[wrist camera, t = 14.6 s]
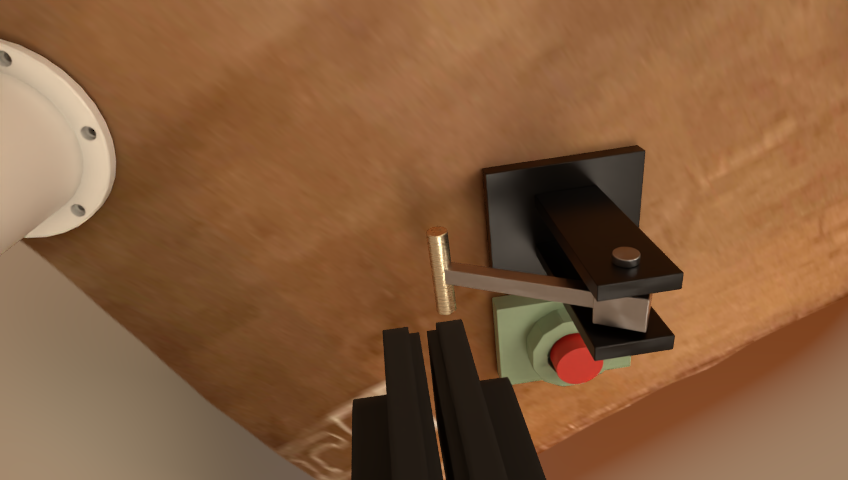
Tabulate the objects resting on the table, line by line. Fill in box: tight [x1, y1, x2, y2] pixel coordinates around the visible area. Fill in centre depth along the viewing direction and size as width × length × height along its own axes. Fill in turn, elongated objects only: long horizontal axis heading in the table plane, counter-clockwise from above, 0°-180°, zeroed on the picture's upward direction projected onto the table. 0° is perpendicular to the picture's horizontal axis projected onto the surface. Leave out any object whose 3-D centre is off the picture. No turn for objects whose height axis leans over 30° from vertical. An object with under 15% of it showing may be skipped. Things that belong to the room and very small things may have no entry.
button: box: [550, 333, 603, 384], centre depth 40 cm, size 4×4×2 cm
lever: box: [426, 226, 652, 333], centre depth 31 cm, size 13×6×2 cm, turn 97°
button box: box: [492, 295, 631, 386], centre depth 42 cm, size 11×8×4 cm
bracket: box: [482, 145, 683, 361], centre depth 33 cm, size 11×9×13 cm
